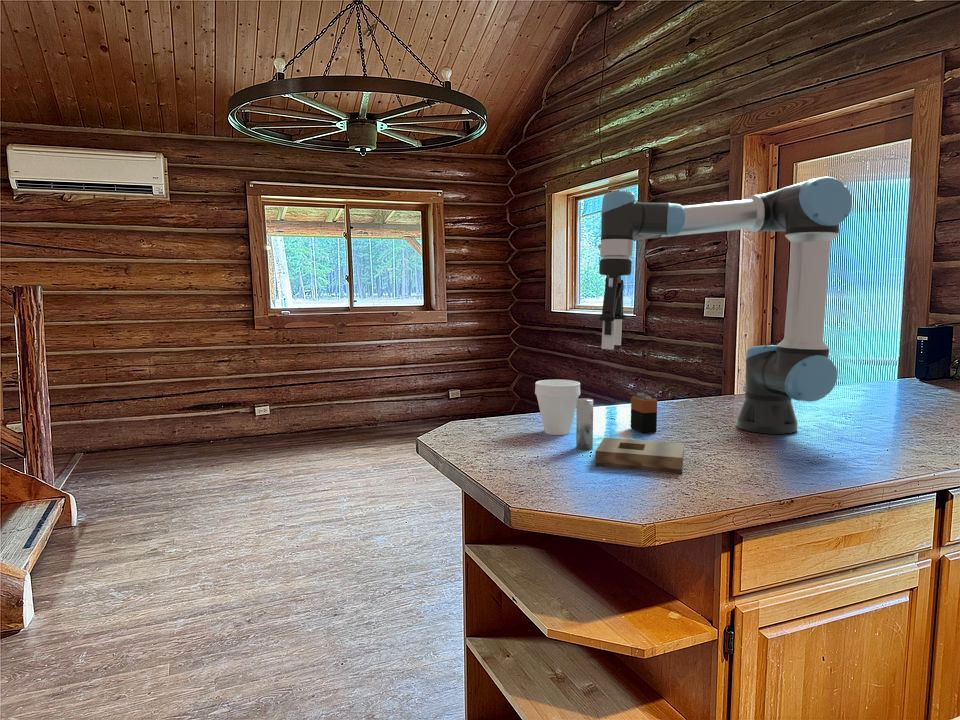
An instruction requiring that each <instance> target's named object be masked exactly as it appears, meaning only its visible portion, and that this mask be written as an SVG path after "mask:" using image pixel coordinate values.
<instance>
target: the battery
mask: <svg viewBox="0 0 960 720" xmlns="http://www.w3.org/2000/svg"><path fill="white" fill-rule="evenodd" d="M657 423H658V400H657V399H656V398H652V397H651V395H646V394H645V393H643V392H642V393H641V392H640V393H637V395H635V396H631V398H630V429H632V430H634V431H636V432H638V433H641V434H652V433H653V434H655V433H657V425H658V424H657Z"/></svg>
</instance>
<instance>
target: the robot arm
mask: <svg viewBox="0 0 960 720" xmlns="http://www.w3.org/2000/svg"><path fill="white" fill-rule="evenodd" d="M852 199H853V198H852V194H851V192H850V190H849V188H848V187H847V186H846V185H845V184H844V183H843V181H841V180H839V179H837V178H835V177H831V176H821V177H815V178H810V179H808V180H806V181H802V182H798V183H795V184H792V185H788V186H785V187H781V188H779V189H777V190H773V191H769V192H766V193H762V194H761V193H759V194H753V195H752V194H751V196H749V197H748V199H741V200H730V201H719V202H710V203H709V202H708V203H699V204H689V205H688V204H687V205H681V204H680V203H671V202H647V201H646V202H645V201H644V202H642V201H637V200H636V195H635V193H634V192H632V191H625V190H619V191H609V192H607V193H606V194H604V195H603V198H602V204H601V213H600V214H601V219H600V220H601V224H600V225H601V226H600V228H601V229H600V230H601V231H600V244H598V245H597V248H598V249H599V250H600V253H599V254H600V255H599V256H600V258H601V259H600V260H599V265H598V266H599V270H598V273H599V275H601V276H608V277H606V278H605V279H604V282H605V284H604V295H603V301H602V309H601V315H600V316H599V317H598V318H599V321H602V327H601V328H602V331H601V332H602V333H601V349H602V350H614V348H615V346H622V330H623V328H622V327H623V326H622V325H623V320H626V315H625V314H624V288H625V287H624V286H625V285H624V280H623V279H622V276H623V277H624V276H630V275H631V274H632V263H633V262H632V259H631V258H632V257H633V249H634V248H633V247H634V242H637V241H642V240H650V239H658V238H666V237H677V236H687V235H698V234H708V233H718V232H729V231H738V230H739V231H740V230H748V231H749V232H751V233H758V232H785V233H784V237H785V238H786V239H787V240H788V241H789V242H790V255H789V256H790V257H789V269H788V271H789V272H788V285H787V296H786V297H787V298H786V310H785V311H786V312H785V323H784V336H783V339H782V340H781V341H780V342H779V343H777V344H776V345H774V344H773V345H771V344H770V345H769V344H768V345H757V346H756V345H753V346H750V347H749V348H748V349H747V350H746V358H745V363H746V364H745V385H744V386H745V387H744V400H743V403H742V406H741V408H740V411H739V413H738V416H737V418H736V427H737V428H738V429H740V430H743V431H748V432H752V433H757V434H759V433H760V434H769V435H786V434H785V433H790V434H793V433H792V432H795V431H797V432H798V426H799V425H798V419H797V416H796V414H795V409H794V407H793V404H792V400H794V401H798V402H800V401H801V402H808V403H809V402H817V401H820V400H822V399H824V398H825V397H827V395H829V394H830V393H831V392H832V391H833V389H834V388H835V386H836V383H837V381H838V369H837V366H836V365H835V364H834V362H833V361H832V359H830V358H829V354H830V346H829V345H828V344H826V343H825V342H824V330H825V319H826V316H825V315H826V308H827V307H826V305H827V293H828V292H827V291H828V282H829V281H828V280H829V269H830V267H829V266H830V256H831V244H832V242H833V240H835V239H836V238H837V237H839V234H840V224H841V223H842V222H844V221H845V220H846V219H847V217H849V216H850V213H851V211H852V207H853V200H852ZM795 433H796V432H795Z"/></svg>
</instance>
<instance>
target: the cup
mask: <svg viewBox="0 0 960 720" xmlns="http://www.w3.org/2000/svg"><path fill="white" fill-rule="evenodd" d="M534 384H535V387H534V388H535V389H534V394H535V396H536V398H537V402H538V403H537V404H538V408H539V411H540V412H539V413H540V416H541V422H542V425H543V429H544V433H545V434H547V435H553V436H563V435H564V436H566V435H569V434H570V433H571V430H572V426H573V422H574V418H575V415H576V409H577V399H579V397H580V395H581V383H580V381H576V380H571V379H544V380H537V381H536V382H535V383H534Z"/></svg>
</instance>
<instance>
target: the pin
mask: <svg viewBox="0 0 960 720" xmlns="http://www.w3.org/2000/svg"><path fill="white" fill-rule="evenodd" d="M575 415H576V417H575V419H576V420H575V421H576V423H575V424H576V428H575V429H576V430H575V435H576V436H575V448H576V450H579V451H591V450H593V448H594V442H593V441H594V399H593V398H585V397H583V398H578V399H577V406H576V410H575Z"/></svg>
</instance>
